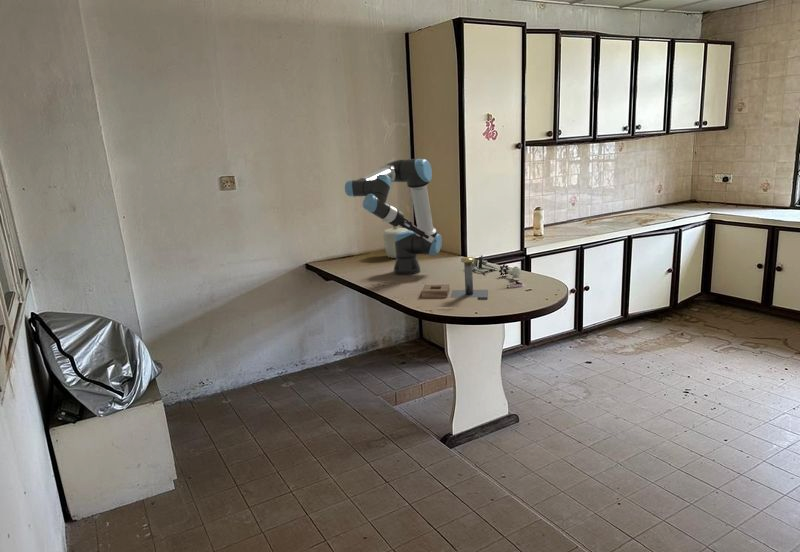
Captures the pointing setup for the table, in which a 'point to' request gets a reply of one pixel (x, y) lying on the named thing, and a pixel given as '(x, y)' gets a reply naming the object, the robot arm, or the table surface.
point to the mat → (476, 293)
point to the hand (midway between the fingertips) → (426, 236)
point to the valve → (510, 271)
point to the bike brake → (481, 262)
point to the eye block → (435, 291)
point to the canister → (391, 240)
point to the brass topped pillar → (468, 274)
